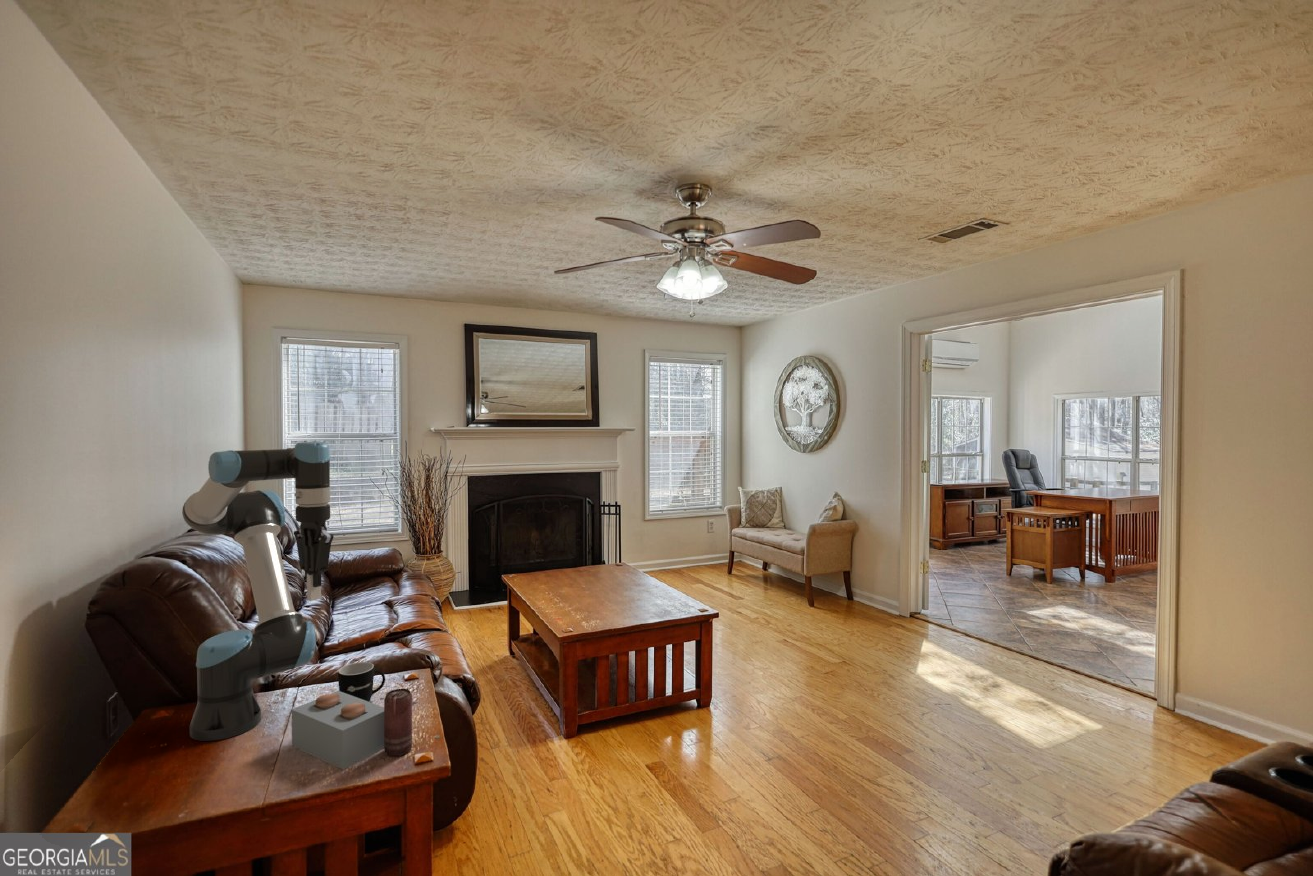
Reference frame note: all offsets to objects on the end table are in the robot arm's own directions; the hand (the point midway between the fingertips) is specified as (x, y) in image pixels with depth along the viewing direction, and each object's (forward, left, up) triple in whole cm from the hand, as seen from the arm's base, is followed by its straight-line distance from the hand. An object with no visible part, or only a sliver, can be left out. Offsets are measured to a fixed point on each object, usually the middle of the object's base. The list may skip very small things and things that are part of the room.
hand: (314, 599), depth 155 cm
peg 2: (+15, 0, -34) cm, 37 cm away
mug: (-6, +17, -35) cm, 39 cm away
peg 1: (+5, 0, -34) cm, 34 cm away
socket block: (+10, 0, -34) cm, 36 cm away
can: (+24, +5, -35) cm, 42 cm away
